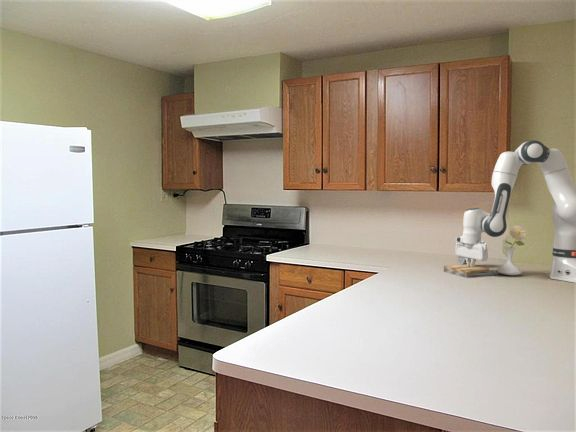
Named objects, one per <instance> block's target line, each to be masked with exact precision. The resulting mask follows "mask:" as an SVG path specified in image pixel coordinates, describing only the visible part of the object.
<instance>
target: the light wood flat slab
mask: <svg viewBox="0 0 576 432" xmlns="http://www.w3.org/2000/svg"><path fill="white" fill-rule="evenodd" d="M450 266H451V267H455V268H460V269H464V270H468V271H470V274H472V273H481V272H489V270H490V268H489V267H482V266H479V265H475V264H474V267H468V266H467V264H463V265H458V264H454V265H450Z"/></svg>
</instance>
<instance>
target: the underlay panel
mask: <svg viewBox="0 0 576 432" xmlns="http://www.w3.org/2000/svg"><path fill="white" fill-rule="evenodd" d="M451 266H452V265H444V266H443V272H444V273H448V274H453V275H456V276H459V277H463V278H476V277H477V278H478V277H494V276H498V274H499V273H498V272H497V271H493V270H491V269H489V272H481V273H472V274H470V271H468V270H464V269H460V268H455V267H451Z"/></svg>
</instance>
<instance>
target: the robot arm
mask: <svg viewBox="0 0 576 432" xmlns="http://www.w3.org/2000/svg"><path fill="white" fill-rule="evenodd" d="M532 164H537V165H538V166H539V167H540V169H541V173H542V175H543V178H544V181H545V184H546V187H547V190H548V191H549V193H550V195H551V197H552V199H553V200H554V202H553V204H552V206H551V211H552V221H553V222H552V223H553V229H554V230H553V231H554V233H553V234H554V235H553V236H554V237H553V247H552V251H551V252H552V263H551V266H550V267H551V268H550V271H549V274H548V277H549V278H550V279H552V280H558V281H563V282H570V283H575V284H576V185H575V183H574V182H575V181H574V179H573V177H572V174H571V171H570V168H569V165H568V163H567V161H566V159H565V156H564V155H563V153H562V151H561V150H559V149H558V148H553V147H552V148H548V147H547V146H546V145H545V144H544V143H543V142H541V141H539V140H537V139H534V140H532V139H531V140H530V139H529V140H528V141H525V142H522V143H521V144H520V145H518V146H517V147H516V148H515V149H514V151H504V152H501V154H500V155H499V157H497V161H496V163H495V166H494V167H493V172H492V175H491V187H492V188H493V192H494V201H493V204H492V208H491V212H490V213H489V212H487V211H484V210H483V209H482V208H480V207H472V208H468V209H466V210H465V211H464V212H463V213H464V214H463V218H462V227H463V229H462V230H463V231H462V235H460V236H458V237H455V242H456V243H455V249H454V250H455V251H454V253H455V255H456V256H457V257H458V256H462V257H466V261H467V266H468V267H474V265H475V263H476V262H477V261H487V260H488V258H489V253H488V245H487V243H486V242H485V241H482V233H485V234H487V235H488V236H490V237H492V238H497V237H501V236H503V235H504V234H505V232H506V231H507V228H508V227H507V226H508V225H507V219H506V218H507V217H506V215H507V211H508V208H509V207H508V206H509V202H510V197H511V194H512V191H513V188H514V186H515V183H516V182H517V181H516V180H517V178H518V174H519V170H520V168H521V167H522V166H526V165H532ZM470 260H471V261H470Z"/></svg>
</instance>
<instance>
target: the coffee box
mask: <svg viewBox="0 0 576 432" xmlns="http://www.w3.org/2000/svg"><path fill="white" fill-rule="evenodd" d="M470 261H471V260H470ZM463 264H467V261H466V257H462V256H458V255H457V265H463Z"/></svg>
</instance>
